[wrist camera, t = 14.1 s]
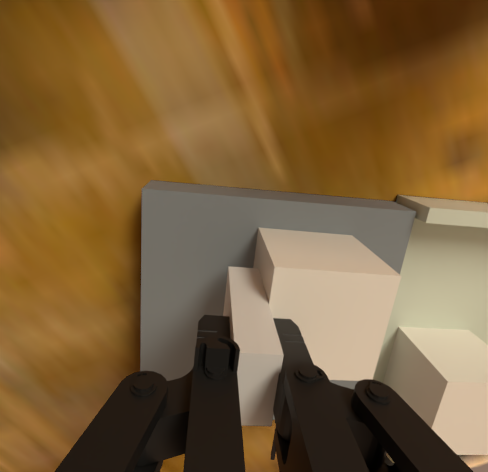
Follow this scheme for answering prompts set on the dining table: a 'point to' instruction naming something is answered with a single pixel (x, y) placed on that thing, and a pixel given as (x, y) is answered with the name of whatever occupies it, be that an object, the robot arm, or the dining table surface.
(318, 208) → the board
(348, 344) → the block
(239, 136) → the dining table surface
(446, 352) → the block
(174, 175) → the dining table surface
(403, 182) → the dining table surface
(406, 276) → the tray
